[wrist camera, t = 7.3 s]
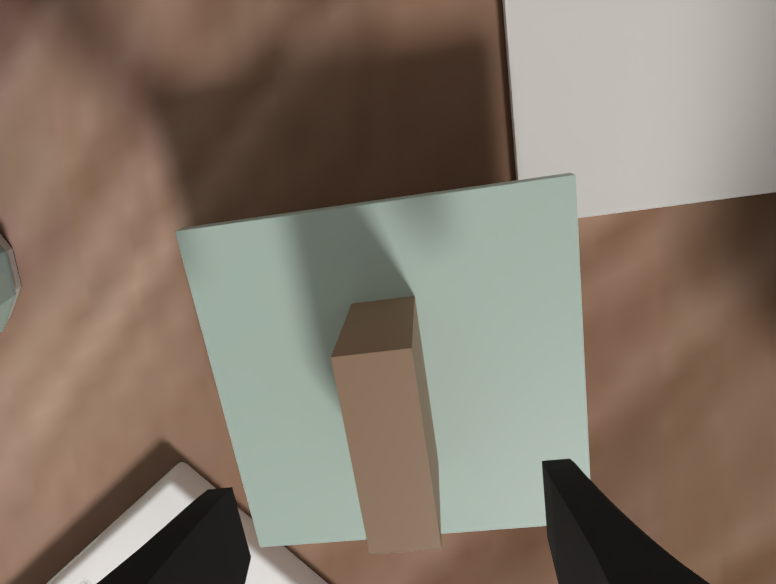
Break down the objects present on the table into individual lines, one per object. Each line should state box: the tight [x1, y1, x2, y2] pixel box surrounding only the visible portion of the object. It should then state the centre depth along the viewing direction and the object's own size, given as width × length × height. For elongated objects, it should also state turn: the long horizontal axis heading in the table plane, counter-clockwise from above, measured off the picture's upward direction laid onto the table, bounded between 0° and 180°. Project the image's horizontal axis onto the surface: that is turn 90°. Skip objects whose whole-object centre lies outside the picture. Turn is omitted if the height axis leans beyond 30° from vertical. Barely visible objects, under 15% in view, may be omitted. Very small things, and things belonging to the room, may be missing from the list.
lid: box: [175, 173, 590, 554], centre depth 17 cm, size 12×12×5 cm
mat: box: [502, 0, 776, 218], centre depth 18 cm, size 12×12×1 cm
